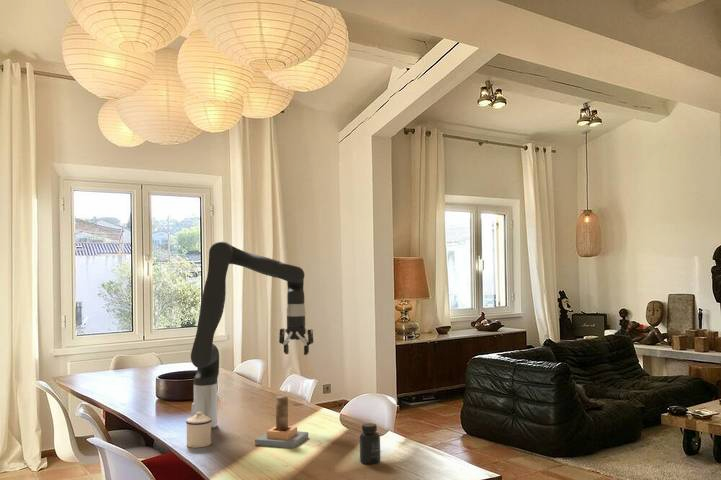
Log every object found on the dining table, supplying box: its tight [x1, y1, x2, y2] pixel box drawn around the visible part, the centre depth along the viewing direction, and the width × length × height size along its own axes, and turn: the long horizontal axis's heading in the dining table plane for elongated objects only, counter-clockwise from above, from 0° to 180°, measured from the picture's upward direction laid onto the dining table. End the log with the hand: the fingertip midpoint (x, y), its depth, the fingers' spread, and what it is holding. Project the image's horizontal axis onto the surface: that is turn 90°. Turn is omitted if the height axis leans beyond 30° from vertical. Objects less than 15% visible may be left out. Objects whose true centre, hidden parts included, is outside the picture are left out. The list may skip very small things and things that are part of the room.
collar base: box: [254, 425, 309, 449], centre depth 227 cm, size 15×14×4 cm
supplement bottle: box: [358, 422, 382, 466], centre depth 202 cm, size 7×7×12 cm
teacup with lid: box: [185, 412, 212, 449], centre depth 225 cm, size 12×9×12 cm
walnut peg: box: [275, 395, 289, 431], centre depth 227 cm, size 4×4×14 cm
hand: (296, 354), depth 253 cm, fingers open, 8 cm apart
